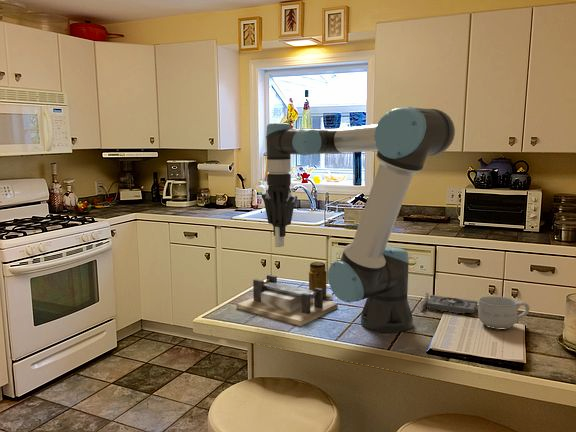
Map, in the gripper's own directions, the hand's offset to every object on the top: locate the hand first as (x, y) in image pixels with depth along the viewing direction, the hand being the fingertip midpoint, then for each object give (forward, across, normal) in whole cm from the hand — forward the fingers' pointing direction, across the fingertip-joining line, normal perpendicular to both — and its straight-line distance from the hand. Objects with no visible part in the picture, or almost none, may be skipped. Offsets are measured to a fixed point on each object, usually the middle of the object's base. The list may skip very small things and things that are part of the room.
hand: (279, 246), depth 164 cm
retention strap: (+15, -3, 0) cm, 15 cm away
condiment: (+20, -5, -16) cm, 26 cm away
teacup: (+21, -63, -25) cm, 71 cm away
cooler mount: (+20, -3, 0) cm, 20 cm away
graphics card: (+21, -45, -30) cm, 58 cm away
